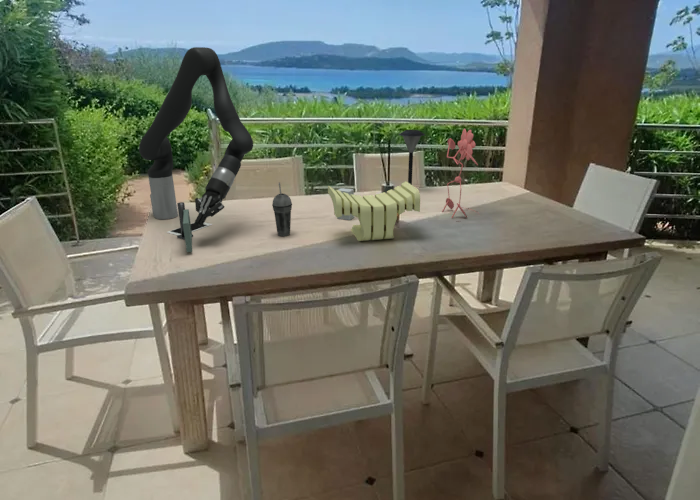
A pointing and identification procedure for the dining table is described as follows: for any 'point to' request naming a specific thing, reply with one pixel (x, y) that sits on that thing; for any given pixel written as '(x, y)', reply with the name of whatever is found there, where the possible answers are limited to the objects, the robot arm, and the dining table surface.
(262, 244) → the dining table surface
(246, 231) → the dining table surface
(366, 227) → the slatted curved stool
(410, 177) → the solar garden light
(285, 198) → the beverage cup
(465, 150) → the figurine
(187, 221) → the green rectangular panel
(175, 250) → the dining table surface
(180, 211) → the post
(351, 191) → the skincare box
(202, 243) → the dining table surface
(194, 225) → the cell phone
